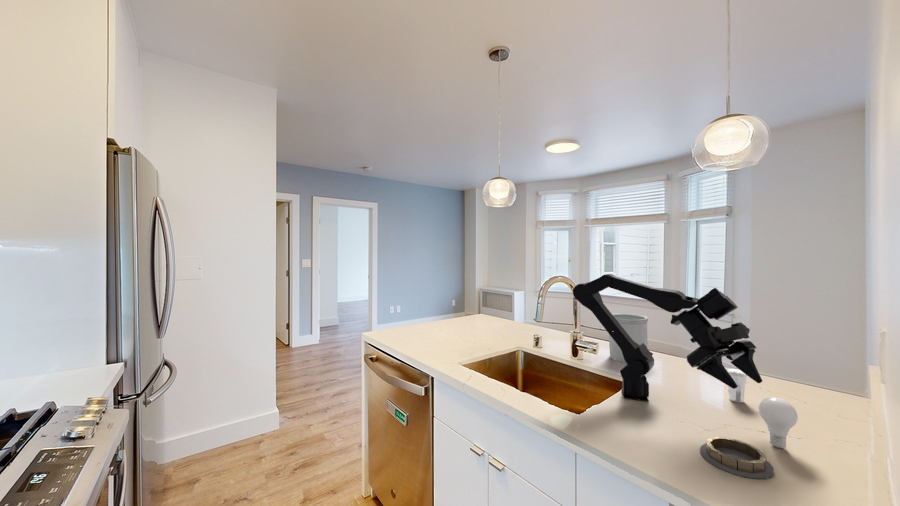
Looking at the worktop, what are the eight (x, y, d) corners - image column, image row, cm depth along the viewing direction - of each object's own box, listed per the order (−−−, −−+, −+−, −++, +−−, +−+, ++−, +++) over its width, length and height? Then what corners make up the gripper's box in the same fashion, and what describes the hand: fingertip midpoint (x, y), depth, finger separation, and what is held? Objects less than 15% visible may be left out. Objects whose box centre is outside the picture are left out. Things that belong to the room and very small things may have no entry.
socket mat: (711, 471, 69) (711, 469, 69) (692, 440, 80) (692, 438, 80) (787, 484, 65) (787, 482, 65) (756, 450, 76) (756, 448, 76)
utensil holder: (614, 363, 135) (613, 319, 135) (603, 352, 150) (603, 312, 150) (654, 365, 133) (654, 320, 133) (639, 353, 148) (639, 313, 147)
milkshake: (745, 406, 97) (745, 371, 97) (723, 399, 102) (723, 365, 102) (753, 403, 100) (753, 368, 99) (731, 396, 104) (731, 363, 104)
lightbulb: (789, 443, 79) (789, 395, 79) (804, 458, 73) (803, 406, 73) (754, 437, 81) (754, 391, 81) (765, 451, 76) (765, 401, 76)
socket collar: (716, 467, 70) (716, 457, 70) (700, 442, 79) (700, 433, 79) (776, 477, 66) (776, 467, 66) (752, 450, 75) (752, 441, 75)
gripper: (698, 314, 84) (750, 374, 74) (747, 309, 91) (802, 363, 80) (668, 339, 92) (712, 396, 81) (715, 333, 98) (762, 385, 88)
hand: (748, 385), depth 83 cm, fingers open, 9 cm apart
